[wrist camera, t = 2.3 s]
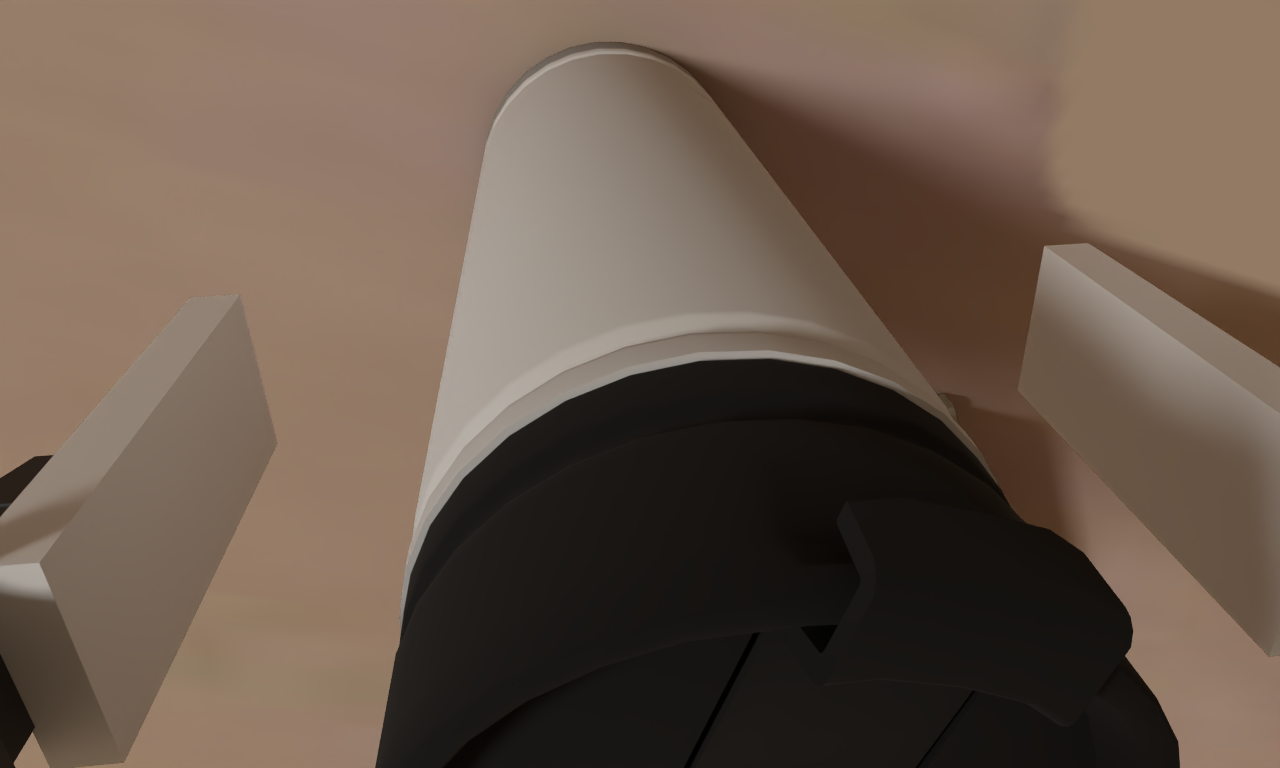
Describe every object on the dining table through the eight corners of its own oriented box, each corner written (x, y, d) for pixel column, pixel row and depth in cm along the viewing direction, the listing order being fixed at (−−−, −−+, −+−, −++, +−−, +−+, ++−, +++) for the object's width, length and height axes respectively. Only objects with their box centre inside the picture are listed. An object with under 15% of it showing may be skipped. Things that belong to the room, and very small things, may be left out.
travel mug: (767, 69, 23) (1460, 674, 6) (681, 304, 26) (971, 1178, 9) (523, -10, 22) (460, 469, 4) (460, 246, 25) (272, 1156, 7)
